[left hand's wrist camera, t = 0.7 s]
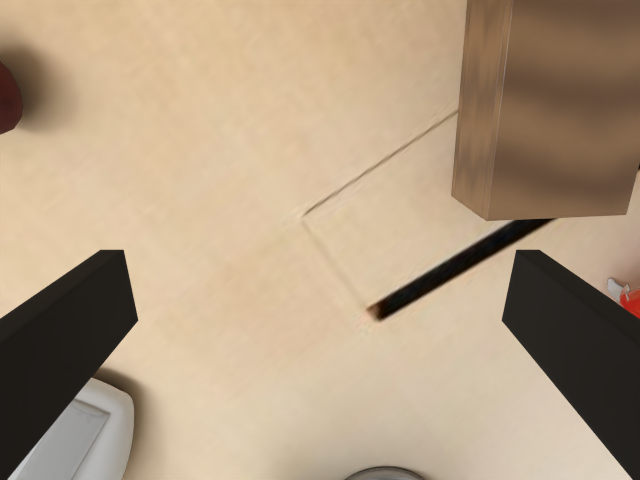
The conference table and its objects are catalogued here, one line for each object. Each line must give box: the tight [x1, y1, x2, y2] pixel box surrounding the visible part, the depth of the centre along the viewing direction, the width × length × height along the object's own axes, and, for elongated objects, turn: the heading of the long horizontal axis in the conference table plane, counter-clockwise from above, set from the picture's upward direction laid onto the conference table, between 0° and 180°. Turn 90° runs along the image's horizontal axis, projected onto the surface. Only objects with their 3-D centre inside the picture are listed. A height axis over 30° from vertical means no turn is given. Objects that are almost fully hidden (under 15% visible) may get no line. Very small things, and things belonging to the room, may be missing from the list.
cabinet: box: [451, 0, 640, 221], centre depth 30 cm, size 20×11×8 cm, turn 3°
